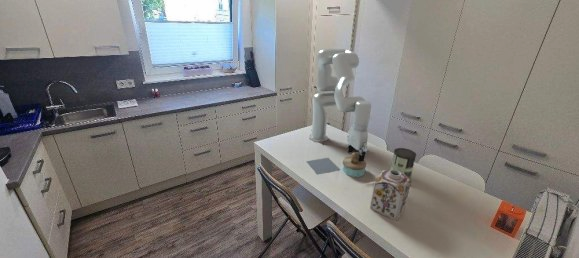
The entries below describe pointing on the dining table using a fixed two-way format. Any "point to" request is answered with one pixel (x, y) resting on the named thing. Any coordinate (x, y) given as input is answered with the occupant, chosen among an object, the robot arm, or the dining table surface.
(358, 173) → the bowl
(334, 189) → the dining table surface
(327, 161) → the mat
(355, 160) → the lid
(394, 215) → the decorative jar
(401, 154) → the coffee can
